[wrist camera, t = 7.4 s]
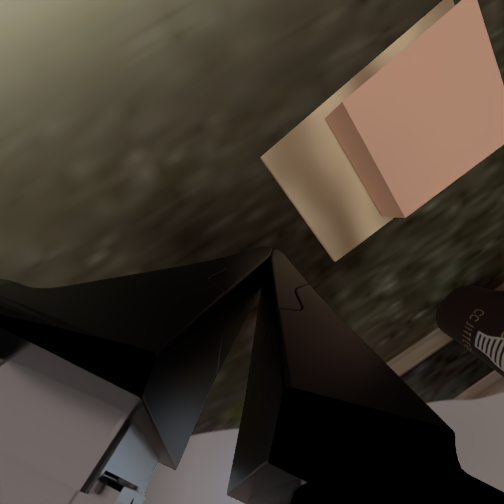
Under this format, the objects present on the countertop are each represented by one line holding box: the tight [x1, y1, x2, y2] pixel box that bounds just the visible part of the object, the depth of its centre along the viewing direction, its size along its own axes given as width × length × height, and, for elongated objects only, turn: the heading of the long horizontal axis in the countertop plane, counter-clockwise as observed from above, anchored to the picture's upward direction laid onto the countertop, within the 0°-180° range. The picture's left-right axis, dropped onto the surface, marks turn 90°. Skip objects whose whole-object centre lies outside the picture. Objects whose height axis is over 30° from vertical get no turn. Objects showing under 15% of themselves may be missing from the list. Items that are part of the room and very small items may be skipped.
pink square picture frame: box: [325, 0, 504, 218], centre depth 15 cm, size 3×10×10 cm
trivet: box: [260, 0, 455, 262], centre depth 16 cm, size 18×12×1 cm, turn 129°
